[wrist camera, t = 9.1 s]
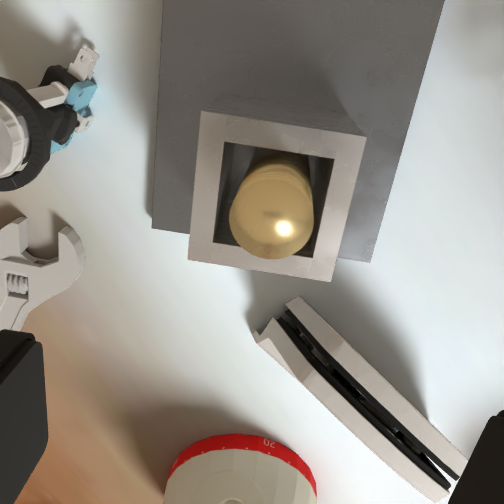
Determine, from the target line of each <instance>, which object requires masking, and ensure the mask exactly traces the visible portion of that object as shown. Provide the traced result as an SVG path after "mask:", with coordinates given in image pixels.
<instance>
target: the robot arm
mask: <svg viewBox="0 0 504 504" xmlns="http://www.w3.org/2000/svg"><path fill="white" fill-rule="evenodd" d="M47 442H48V422H47V407H46V392H45V377H44V362H43V348H42V344H41V343H40V342H37V341H35V337H34V335H33V334H31V333H26V332H20V331H14V330H8V329H3V330H1V331H0V504H14V502H15V500H16V499H17V497H18V495H19V494H20V492H21V490H22V489H23V487H24V485H25V484H26V482H27V480H28V478H29V477H30V475H31V473H32V472H33V470H34V468H35V467H36V465H37V463H38V462H39V460H40V458H41V457H42V455H43V453H44V451H45V448H46V445H47ZM448 504H504V410H502V411H501V412H499V413H498V415H497V416H492V417H490V419H489V420H488V422H487V424H486V426H485V428H484V430H483V432H482V434H481V436H480V438H479V440H478V442H477V444H476V446H475V448H474V451H473V453H472V455H471V457H470V459H469V461H468V463H467V465H466V467H465V469H464V471H463V473H462V475H461V477H460V479H459V481H458V483H457V485H456V487H455V489H454V491H453V493H452V495H451V497H450V499H449V502H448Z"/></svg>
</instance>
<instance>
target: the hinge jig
mask: <svg viewBox="0 0 504 504" xmlns="http://www.w3.org/2000/svg"><path fill="white" fill-rule="evenodd" d="M444 1H445V0H163V16H162V36H161V55H160V75H159V94H158V114H157V133H156V153H155V172H154V191H153V211H152V228H153V229H160V230H166V231H172V232H179V233H185V234H190V238H189V249H188V260H193V261H199V262H206V263H212V264H218V265H225V266H231V267H237V268H244V269H250V270H256V271H263V272H269V273H275V274H282V275H288V276H294V277H301V278H307V279H313V280H320V281H326V282H331V280H332V276H333V271H334V267H335V263H336V259H337V258H344V259H350V260H356V261H363V262H369V263H370V261H371V257H372V254H373V250H374V247H375V243H376V240H377V236H378V233H379V229H380V226H381V222H382V219H383V215H384V212H385V208H386V205H387V201H388V198H389V194H390V191H391V187H392V184H393V180H394V177H395V173H396V170H397V166H398V163H399V159H400V156H401V152H402V149H403V145H404V142H405V138H406V135H407V131H408V127H409V124H410V120H411V117H412V113H413V110H414V106H415V103H416V99H417V96H418V92H419V89H420V85H421V82H422V78H423V75H424V71H425V68H426V64H427V61H428V57H429V54H430V50H431V47H432V43H433V40H434V36H435V33H436V29H437V26H438V22H439V19H440V15H441V12H442V8H443V5H444ZM258 147H263V148H269V149H275V150H282V151H288V152H294V153H301V154H307V155H308V158H309V164H310V177H311V189H312V202H313V215H314V225H313V230H312V233H311V236H310V238H309V239H308V241H307V242H306V244H305V245H304V246H303V247H302V248H301V249H300V250H299V251H297V252H296V253H294V254H292V255H290V256H288V257H285V258H281V259H264V258H260V257H256V256H254V255H252V254H250V253H249V252H247V251H246V250H244V249H243V248H242V247H241V246H240V245H239V244H238V242H237V241H236V240H235V238H234V236H233V234H232V232H231V228H230V223H229V215H230V209H231V206H232V204H233V201H234V199H235V197H236V194H237V192H238V190H239V188H240V185H241V183H242V181H243V178H244V176H245V174H246V172H247V169H248V167H249V165H250V162H251V160H252V158H253V156H254V153H255V151H256V150H257V148H258Z"/></svg>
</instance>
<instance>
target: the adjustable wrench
mask: <svg viewBox="0 0 504 504" xmlns="http://www.w3.org/2000/svg"><path fill="white" fill-rule="evenodd" d="M58 239H59V257H57V258H54V259H51V260H46V259H41V258H36V257H33V256H31V255H30V254H29V253H28V252H27V251H25V249H26V248H27V247H29V243H28V218H25V217H19V218H17V219H15V220H14V221H12V222H11V223H9V224H8V225H6V226H5V227H3V228H2V229H1V230H0V331H1V330H3V329H8V330H14V331H20V330H21V328H22V326H23V324H24V321H25V319H26V317H27V315H28V314H29V312H30V311H31V310H32V309H34V308H35V307H37V306H38V305H39V304H41V303H42V302H44V301H46V300H47V299H49V298H51V297H53V296H55V295H57V294H59V293H61V292H63V291H65V290H66V289H68V288H69V287H70V286H71V285H72V284H73V283H74V282H75V280H76V279H77V278H78V277H79V276H80V275H81V273H82V271H83V269H84V267H85V260H86V256H85V249H84V246H83V244H82V241H81V239H80V237H79V236H78V234H77V233H76V232H75V230H74V229H73V228H71V227H69V226H65V227H64V228H63V229H62V230H61V231H59V232H58Z"/></svg>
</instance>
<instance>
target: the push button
mask: <svg viewBox="0 0 504 504" xmlns="http://www.w3.org/2000/svg"><path fill="white" fill-rule="evenodd" d="M81 56H83V57H82V59H80V58H81ZM92 58H93V61H92ZM98 58H99V55H98V54H97V53H96V52H94V51H93V50H92V49H90V48H87V49H86V50H85V49H84V48H81V49H80V51H79V53H78V55H77V57H76V59H75V61H74V63H72V62H71V63H70V65H69V67H68V69H65V68H63V67H62V66H60V65H56V66H50V67H49V68H48V69H47V70H46V73H45V75H44V77H43V79H42V81H41V84H40V85H39V86H38V88H33V89H27V90H25V89H24V88H23V87H22V86H21V85H20V84H19V83H17V82H15V81H12V80H9V79H6V78H3V77H0V191H11V190H15V189H18V188H21V187H23V186H24V185H26V184H28V183H30V182H31V181H32V180H34V179H35V178H36V177H37V176H38V174H39V173H40V172H41V170H42V168H43V167H44V165H45V164H46V163H47V162H48V161H49V159H50V154H52V153H54V152H56V151H58V150H60V149H62V148H65V147H67V145H68V144H69V143H70V141H71V139H72V136H73V134H74V132H76V133H79V132H82V131H84V130H86V129H87V128H88V127H89V125H90V123H91V121H92V119H93V116H94V115H90V116H88V117H86V118H85V117H83V114H84V112H85V110H86V108H87V106H88V104H89V102H90V100H91V98H92V96H93V94H94V92H95V90H96V88H97V85H96V84H95V83H93V82H92V81H90V80H91V78H92V76H93V74H94V73H93V72H92V70H93V68H94V66H95V64H96V62H97V60H98ZM91 61H92V62H91ZM87 122H88V123H87ZM86 123H87V124H86ZM85 125H86V126H85ZM27 162H28V163H27ZM25 163H27V165H26V166H25V168H24V169H23V170H22V171H16V170H17V169H18V168H19V167H20V166H21V165H23V164H25Z"/></svg>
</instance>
